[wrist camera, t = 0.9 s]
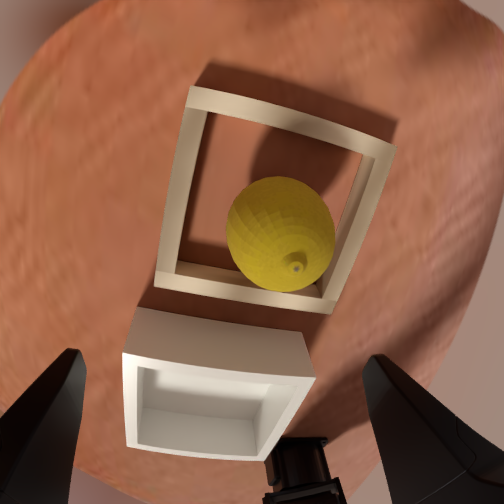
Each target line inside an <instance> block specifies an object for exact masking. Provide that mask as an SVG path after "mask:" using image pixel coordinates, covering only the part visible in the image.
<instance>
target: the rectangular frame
mask: <svg viewBox="0 0 504 504" xmlns="http://www.w3.org/2000/svg"><path fill="white" fill-rule="evenodd" d="M208 111H210V112H214V113H219V114H224V115H228V116H233V117H237V118H241V119H246V120H250V121H254V122H258V123H262V124H266V125H270V126H274V127H277V128H281V129H285V130H288V131H292V132H295V133H299V134H302V135H306V136H309V137H312V138H316V139H319V140H322V141H325V142H328V143H332V144H335V145H338V146H341V147H344V148H347V149H350V150H353V151H356V152H358V153H361V154H363V156H362V159H361V162H360V165H359V168H358V171H357V174H356V177H355V180H354V183H353V186H352V189H351V192H350V195H349V197H348V200H347V203H346V206H345V209H344V211H343V214H342V217H341V220H340V222H339V225H338V228H337V231H336V233H335V242H336V243H335V248H334V253H333V257H332V259H331V261H330V264H329V266H328V267H327V269H326V270H325V271H324V273H323V274H322V275H321V276H320V277H319V278H318V280H317V282H316V285H313V284H310V285H308V286H306V287H304V288H302V289H299V290H295V291H291V292H277V291H271V290H267V289H265V288H262V287H260V286H258V285H256V284H255V283H253V282H252V281H251V280H250V279H248V278H247V277H246V276H245V275H244V274H243V273H242V272H238V271H233V270H227V269H222V268H216V267H211V266H205V265H200V264H194V263H189V262H184V261H178V260H177V259H178V253H179V248H180V242H181V236H182V231H183V225H184V220H185V215H186V210H187V205H188V200H189V195H190V190H191V185H192V180H193V175H194V171H195V166H196V161H197V157H198V152H199V148H200V144H201V139H202V135H203V131H204V127H205V123H206V118H207V114H208ZM396 150H397V146H395V145H392V144H390V143H388V142H385V141H383V140H380V139H378V138H375V137H372V136H370V135H367V134H365V133H362V132H359V131H356V130H354V129H351V128H348V127H345V126H343V125H340V124H337V123H334V122H331V121H328V120H325V119H322V118H319V117H316V116H312V115H309V114H306V113H303V112H299V111H296V110H293V109H289V108H286V107H282V106H279V105H275V104H271V103H267V102H264V101H260V100H256V99H252V98H248V97H244V96H239V95H235V94H231V93H226V92H222V91H217V90H212V89H207V88H202V87H197V86H191V85H190V89H189V93H188V97H187V102H186V106H185V110H184V114H183V119H182V123H181V127H180V132H179V137H178V141H177V146H176V151H175V156H174V161H173V166H172V171H171V176H170V182H169V187H168V193H167V198H166V204H165V210H164V216H163V222H162V229H161V236H160V242H159V249H158V257H157V264H156V272H155V280H154V286H155V287H160V288H165V289H171V290H176V291H182V292H187V293H193V294H198V295H204V296H210V297H216V298H222V299H228V300H234V301H240V302H246V303H253V304H259V305H266V306H273V307H279V308H286V309H293V310H300V311H308V312H315V313H323V314H331V313H332V311H333V309H334V307H335V305H336V303H337V300H338V298H339V296H340V294H341V292H342V289H343V287H344V285H345V283H346V280H347V278H348V276H349V273H350V271H351V269H352V266H353V264H354V262H355V259H356V257H357V255H358V252H359V250H360V247H361V245H362V242H363V240H364V237H365V235H366V232H367V230H368V227H369V225H370V222H371V220H372V217H373V214H374V212H375V209H376V207H377V204H378V201H379V198H380V196H381V193H382V190H383V187H384V185H385V182H386V179H387V176H388V173H389V170H390V168H391V165H392V162H393V159H394V156H395V153H396Z"/></svg>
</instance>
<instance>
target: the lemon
mask: <svg viewBox="0 0 504 504" xmlns="http://www.w3.org/2000/svg"><path fill="white" fill-rule="evenodd" d="M226 235H227V244H228V247H229V250H230V252H231V255H232V258H233V260H234V262H235V263H236V265H237V266H238V267H239V269H240V270H241V271H242V273H243V274H244V275H245V276H246V277H247V278H248V279H250V280H251V281H252V282H253V283H255V284H256V285H258V286H260V287H262V288H265V289H267V290H271V291H277V292H291V291H295V290H299V289H302V288H304V287H306V286H308V285H310V284H312V283H313V282H314V281H316V280H317V279H318V278H319V277H320V276H321V275H322V274H323V273H324V271H325V270H326V269H327V267H328V266H329V264H330V261H331V259H332V257H333V253H334V248H335V243H336V242H335V227H334V223H333V220H332V217H331V214H330V212H329V209H328V207H327V206H326V204H325V203H324V201H323V200H322V199H321V197H320V196H319V195H318V194H317V193H316V192H315V191H314V190H313V189H311V188H310V187H309V186H308V185H306V184H305V183H303V182H300V181H298V180H295V179H293V178H288V177H281V176H275V177H267V178H263V179H260V180H258V181H255V182H253V183H252V184H250V185H249V186H248V187H246V188H245V189H243V190H242V192H241V193H240V194H239V195H238V196H237V197H236V199H235V200H234V202H233V204H232V206H231V209H230V211H229V213H228V219H227V224H226Z"/></svg>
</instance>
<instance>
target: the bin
mask: <svg viewBox="0 0 504 504" xmlns="http://www.w3.org/2000/svg"><path fill="white" fill-rule="evenodd" d="M315 379H316V375H315V372H314V369H313V365H312V362H311V359H310V356H309V353H308V350H307V347H306V344H305V341H304V338H303V335H302V332H297V331H288V330H280V329H272V328H265V327H257V326H250V325H243V324H236V323H229V322H223V321H216V320H210V319H204V318H198V317H192V316H186V315H180V314H175V313H169V312H164V311H158V310H153V309H148V308H143V307H138V306H137V307H136V310H135V314H134V317H133V320H132V323H131V326H130V330H129V333H128V336H127V339H126V343H125V346H124V350H123V394H124V414H125V429H126V441H127V447H132V448H138V449H143V450H149V451H155V452H161V453H168V454H175V455H183V456H192V457H201V458H213V459H226V460H247V461H265V459H266V458H267V456H268V455H269V453H270V452H271V450H272V449H273V447H274V446H275V444H276V443H277V441H278V440H279V438H280V437H281V435H282V434H283V432H284V430H285V429H286V427H287V426H288V424H289V423H290V421H291V419H292V418H293V416H294V415H295V413H296V411H297V410H298V408H299V406H300V405H301V403H302V401H303V400H304V398H305V396H306V395H307V393H308V391H309V390H310V388H311V386H312V384H313V383H314V381H315Z"/></svg>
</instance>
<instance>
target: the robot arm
mask: <svg viewBox="0 0 504 504" xmlns="http://www.w3.org/2000/svg"><path fill="white" fill-rule="evenodd" d="M86 373H87V370H86V365H85V362H84V359H83V356H82V353H81V351H80V350H78V349H73V348H67V349H66V350H64V351H63V352H62V353H61V354H60V355H59V357H58V358H57V359H56V360H55V361H54V362H53V363H52V364H51V365H50V366H49V367H48V368H47V369H46V370H45V371H44V372H43V373H42V374H41V375H40V376H39V377H38V378H37V379H36V380H35V381H34V382H33V383H32V384H31V385H30V386H29V387H28V388H27V390H26V391H25V392H24V393H23V394H22V395H21V396H20V397H19V398H18V399H17V400H16V401H15V402H14V403H13V405H12V406H11V407H10V408H9V409H8V410H7V411H6V412H5V413H4V414H3V416H2V417H1V418H0V504H68V498H69V490H70V482H71V475H72V468H73V462H74V456H75V450H76V445H77V439H78V434H79V429H80V424H81V418H82V410H83V400H84V390H85V382H86ZM362 378H363V384H364V389H365V395H366V400H367V406H368V412H369V416H370V420H371V424H372V427H373V431H374V434H375V438H376V442H377V445H378V449H379V453H380V456H381V460H382V464H383V467H384V472H385V475H386V479H387V483H388V487H389V491H390V496H391V500H392V504H504V451H502V450H501V449H499V448H498V447H497V446H495V445H494V444H492V443H491V442H489V441H488V440H486V439H485V438H484V437H482V436H481V435H479V434H478V433H477V432H476V431H474V430H473V429H472V428H470V427H469V426H468V425H467V424H465V423H464V422H463V421H462V420H461V419H459V418H458V417H457V416H455V414H454V413H452V412H451V411H450V410H449V409H448V408H447V407H445V406H444V405H443V404H442V403H441V402H440V401H438V400H437V399H436V398H435V397H434V396H433V395H431V394H430V393H429V392H428V391H427V390H425V389H424V388H423V387H422V386H421V385H420V384H418V383H417V382H416V381H415V380H414V379H413V378H411V377H410V376H409V375H408V374H407V373H405V372H404V371H403V370H402V369H401V368H400V367H398V366H397V365H396V364H395V363H394V362H392V361H391V360H390V359H389V358H388V357H387V356H385V355H384V354H375V355H372V356H371V357H370V358H369V360H368V362H367V364H366V366H365V367H364V369H363V372H362ZM327 443H328V439H327V438H298V439H279V440H278V441H277V443H276V444H275V446H274V447H273V449H272V450H271V452H270V453H269V455H268V456H267V458H266V459H265V461H264V464H265V466H266V473H267V480H268V485H269V486H273V493H270V492H269V493H265V497H264V498H262V501H263V504H347V502H346V499H345V496H344V493H343V489H342V486H341V483H340V480H339V477H335V478H334V479H331V475H330V472H329V468H328V464H327V461H326V457H325V453H324V449H323V447H324V446H325V445H326V444H327Z"/></svg>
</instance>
